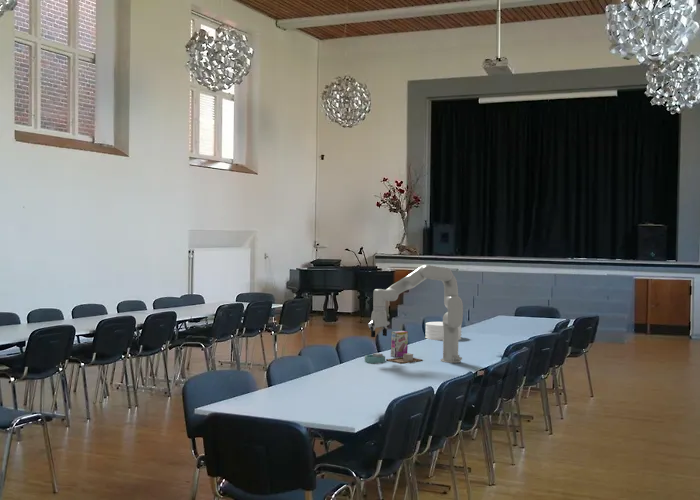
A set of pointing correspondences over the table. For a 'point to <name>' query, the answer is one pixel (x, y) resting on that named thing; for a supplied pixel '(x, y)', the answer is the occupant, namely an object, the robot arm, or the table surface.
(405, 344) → the candy bar box
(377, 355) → the light grey cube
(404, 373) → the table surface
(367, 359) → the bowl
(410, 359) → the beige square block
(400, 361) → the tray
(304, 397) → the table surface
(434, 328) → the plate stack
